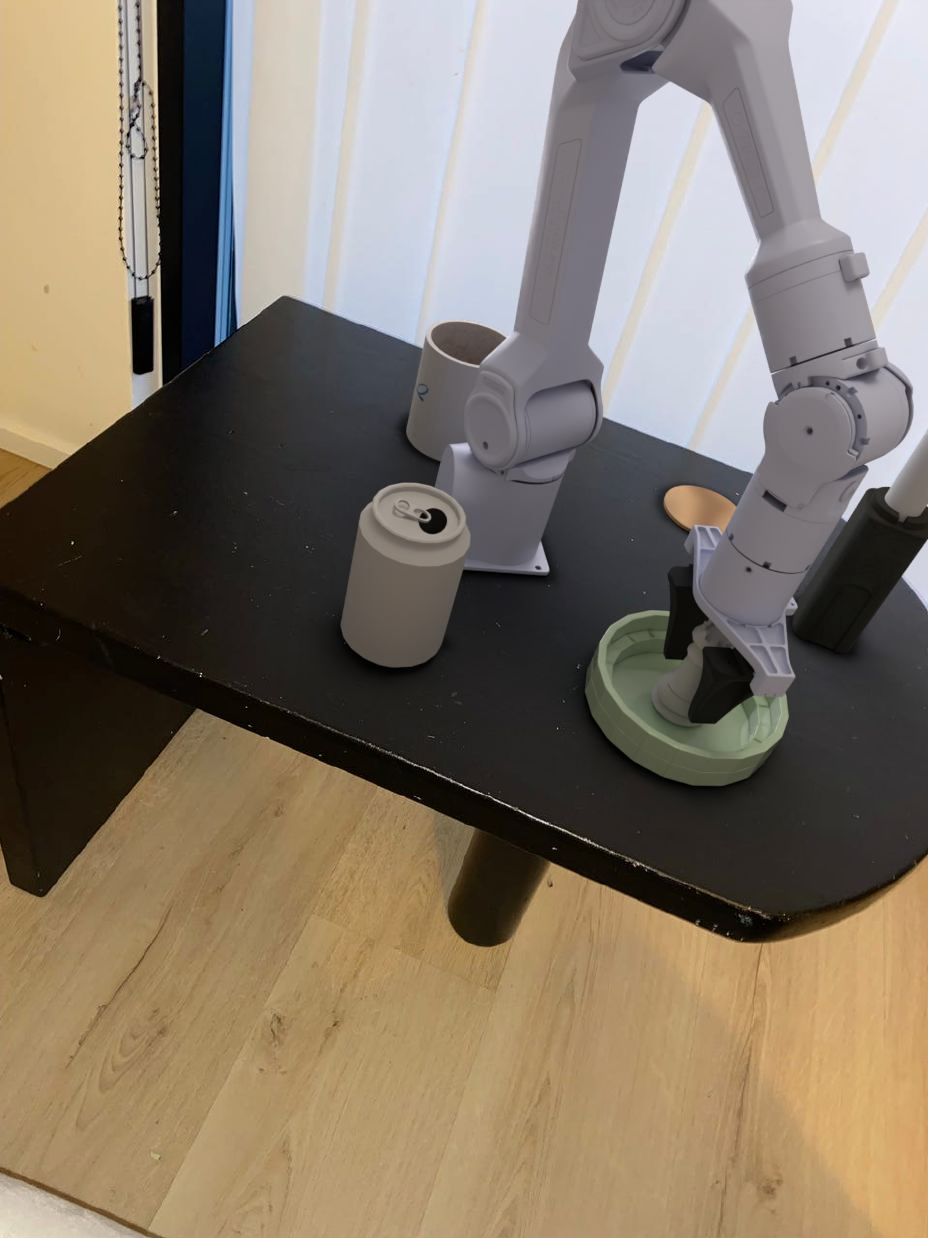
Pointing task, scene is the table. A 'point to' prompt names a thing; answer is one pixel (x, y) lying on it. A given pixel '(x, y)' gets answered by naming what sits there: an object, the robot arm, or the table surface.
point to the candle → (867, 558)
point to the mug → (447, 382)
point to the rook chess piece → (686, 676)
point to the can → (404, 574)
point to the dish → (647, 738)
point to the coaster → (698, 507)
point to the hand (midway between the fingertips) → (688, 687)
